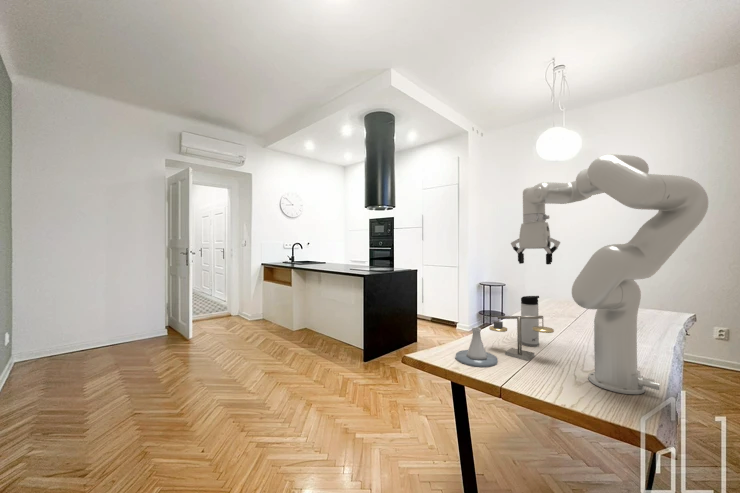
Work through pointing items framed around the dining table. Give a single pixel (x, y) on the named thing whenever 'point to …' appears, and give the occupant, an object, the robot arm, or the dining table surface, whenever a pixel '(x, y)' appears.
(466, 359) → the slate dish
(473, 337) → the flask
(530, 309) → the travel mug
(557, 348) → the dining table surface
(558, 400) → the dining table surface
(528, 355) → the tipped balance
